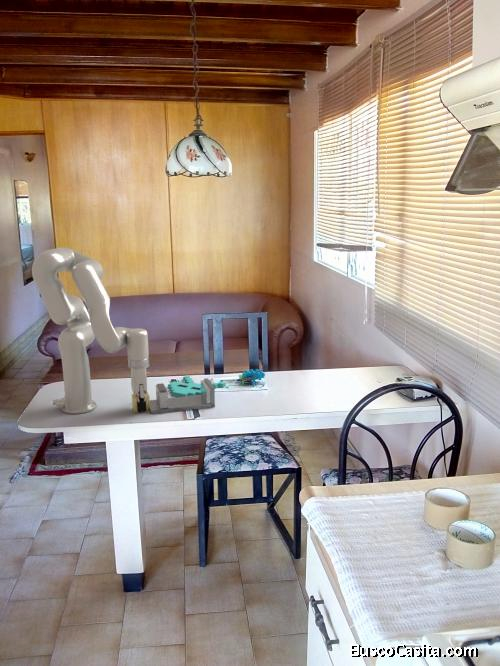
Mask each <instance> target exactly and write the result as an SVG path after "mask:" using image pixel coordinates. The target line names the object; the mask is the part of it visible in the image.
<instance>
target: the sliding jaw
mask: <svg viewBox="0 0 500 666" xmlns="http://www.w3.org/2000/svg"><path fill="white" fill-rule="evenodd" d="M155 395H156V396H155V397H156V399H155V400H157V402H158V404H159V406H160V409H161V408H169V407H168V398H169V393H168V390H167V388H166V386H165V384H164V383H161V382H160V383H156V384H155Z"/></svg>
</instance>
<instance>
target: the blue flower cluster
mask: <svg viewBox="0 0 500 666" xmlns="http://www.w3.org/2000/svg"><path fill="white" fill-rule="evenodd" d="M265 376H266V373H265V372H264V371H263V370H259V369H258V368H256V369H255V370H254V369H253V368H252V369H249V370H248V369H246V370H245V371H243V372H242V373H241V374H238V378H239V379H240V381H242V382H241V385H242V386H245V382H247V381H248V380H251V382H252V383H251V385H255V386H256V381H255V380H258V381H261V380H262V379H265ZM248 382H249V381H248Z"/></svg>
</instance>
